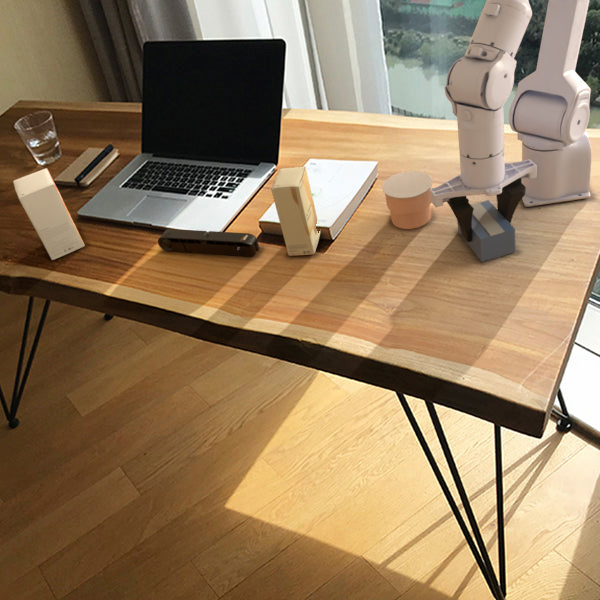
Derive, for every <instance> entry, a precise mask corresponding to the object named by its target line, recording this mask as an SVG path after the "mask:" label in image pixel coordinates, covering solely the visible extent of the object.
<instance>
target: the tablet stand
mask: <svg viewBox="0 0 600 600" xmlns="http://www.w3.org/2000/svg"><path fill="white" fill-rule="evenodd" d="M157 244H158V246H159V248H160V249H161V250H163V251H165V252H169V253H170V252H171V253H187V254H192V253H193V254H194V253H195V254H209V255H210V254H211V255H222V256H223V255H224V256H236V257H255V256H256V255H257V252H259V250H260V245H259V242H258V237H256V235H254V234H253V233H248V232H234V231H233V232H231V231H216V230H215V231H213V230H209V231H207V230H198V229H197V230H195V229H194V230H193V229H177V228H176V229H175V228H168V229H165V231H164V232H163V233H162V234H161V235H160V237H159V238H158V239H157Z"/></svg>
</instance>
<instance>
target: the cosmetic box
mask: <svg viewBox="0 0 600 600" xmlns="http://www.w3.org/2000/svg"><path fill="white" fill-rule="evenodd" d="M308 175H309V174H308V172H307V167H306V166H296V167H283V168H281V167H280V168H279V169H278V171H277V173H276V176H275V177H274V180H273V183H272V186H271V188H270V190H271V195H272V198H273V202H274V206H275V209H276V213H277V217H278V221H279V224H280V225H279V226H280V229H281V232H282V236H283V239H284V240H283V241H284V244H285V247H286V252H287V255H288V256H289V257H291V256H294V257H295V256H309V255H315V253H316V251H317V247H318V244H319V241H320V236H321V230H320V231H319V233H318V231H317V229H316V224H317V219H318V216H317V211H316V207H315V202H314V198H313V194H312V188H311V184H310V180H309V176H308Z"/></svg>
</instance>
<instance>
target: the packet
mask: <svg viewBox="0 0 600 600" xmlns="http://www.w3.org/2000/svg"><path fill="white" fill-rule="evenodd" d="M470 205H471V206H472V207H473V208H474V210H473V214H472V241H471V242H467V241H466V240H465V239H464V237H463V236H462V232H461V229H460V226H459V223H458V221H457V220H456V222H457V232H458V234H459V235H460V237H461V238H462V239H463V240H464V241H465V243H466V244H467V246H468V247H469V248H470V249H471V250H472V252H473V253H474V255H475V256H476V257H477V258H478V260H479V261H480V262H481V263H484V262H487V261H491V260H494V259H497V258H500V257H503V256H506V255H511V254H513V253H516V228H515V227H514V226H513V225H512V223H509V222H508V221H507V220H506V219H505V217H504V216H503V215H502V214H501V213H500V212H499V211H498V210H497V206H495V205H494V204H493V202H491V200H489V199H488V200H484V201H478V202H475V203H472V204H471V203H470Z"/></svg>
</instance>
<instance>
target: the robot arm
mask: <svg viewBox="0 0 600 600" xmlns="http://www.w3.org/2000/svg"><path fill="white" fill-rule="evenodd" d="M589 4H590V0H548V2H547V8H546V13H545V18H544V24H543V30H542V36H541V39H540V46H539V51H538V57H537V63H536V64H537V65H536V68H535V70H534V71H533V72H531V73H530V74H529V75H527V76H526V77H524V78H522V80H520V81H519V82H518V84H517V88H516V92H515V95H514V97H513V100H512V102H511V104H510V108H509V111H508V123H509V127H510V129H511V130H512V132H515V133H517V140H518V141H520V142H521V161H515V162H514V161H513V162H506V160H505V159H506V158H505V114H504V113H505V111H504V107H505V106H504V104H506V103H507V101H508V99H509V98H510V95H511V93H512V91H513V88H514V83H515V70H516V69H517V60H516V59H515V57H516V56H517V55H516V54H517V52H518V50H519V47H520V45H521V43H522V40H523V39H524V36H525V34H526V31H527V29H528V26H529V23H530V21H531V19H532V16H533V10H532V6H531V4H530V1H529V0H486V1H485V4H484V6H483V8H482V11H481V13H480V16H479V18H478V21H477V22H476V25H475V27H474V31H473V33H472V36H471V38H470V41H469V43H468V46H467V47H466V50H465V53H464V56H462V57H460V58H459V59H457V60H455V61H454V62H453V64H451V66H450V68H449V70H448V72H447V76H446V85H445V86H444V94H445V96H446V98H447V101H449V102H450V103H451V108H452V114H454V116H455V117H456V119H457V120H456V121H457V134H458V135H457V136H458V150H459V151H458V152H459V166H460V174H458V175H456V176H454V177H452V178H451V179H449V180H447V181H445V182H444V183H442V184H440V185H437V186H435V187H433V188H432V187H431V189H430V199H431V204H432V205H433V206H434V207H435V208H440V207H443V205H444V203H447V204H448V206H449V208H450V209H451V211H452V213H453V215H454V216H455V218H456V222H457V221H458V222H457V224H458V223H459V226H460V229H461V232H462V236H463V237H464V239H465V240H466V241H467V242H471V241H472V214H473V210H474V208H473V207H472V206H471V203H470V202H469V198H467V197H470V196H478V195H486V196H487V197H494V196H496V205H497V206H496V209H497V210H498V211H499V212H500V213H501V214H502V215H503V216H504V217H505V219H506V220H507V221H508V222H509V223H510V224H512V219H513V216H514V214H515V212H516V209H517V207H518V205H519V204H520V202H521V201H522V202H523V205H524V207H537V206H543V205H548V204H556V203H562V202H569V201H575V200H582V199H583V200H584V199H590V197H591V193H590V185H591V172H592V169H591V168H592V144H591V140H590V137H589V134H588V133H587V131H586V130H587V128H588V125H589V122H590V115H591V110H590V101H591V93H592V89H591V88H590V86H589V85H588V84H587V83H586V82H585V81H584V80H583V79H582V77H581V76H580V75H579V74H578V73H577V72H576V68H577V62H578V58H579V54H580V48H581V43H582V39H583V33H584V29H585V24H586V19H587V15H588V14H587V13H588V10H589ZM462 236H461V237H462ZM463 237H462V238H463ZM464 239H463V240H464ZM465 240H464V241H465ZM466 241H465V242H466Z"/></svg>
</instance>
